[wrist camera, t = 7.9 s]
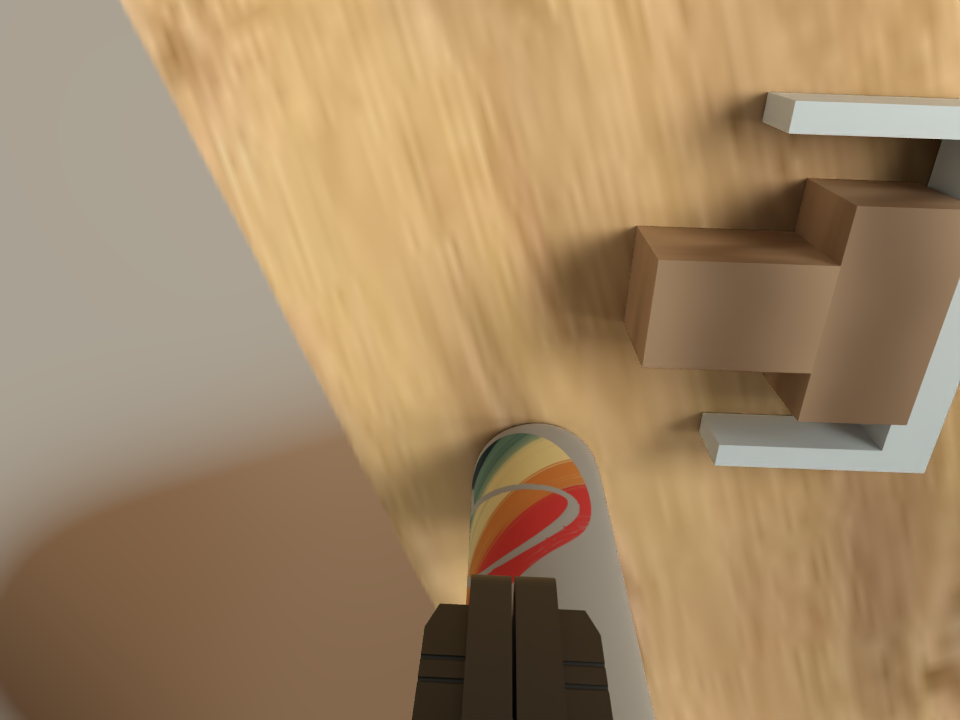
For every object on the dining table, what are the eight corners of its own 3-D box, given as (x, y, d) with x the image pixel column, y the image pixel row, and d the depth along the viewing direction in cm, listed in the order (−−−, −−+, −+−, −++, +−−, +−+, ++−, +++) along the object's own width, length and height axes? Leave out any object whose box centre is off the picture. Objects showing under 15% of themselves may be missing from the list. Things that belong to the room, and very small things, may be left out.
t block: (916, 182, 26) (984, 210, 22) (856, 374, 29) (906, 425, 26) (643, 172, 26) (667, 199, 22) (617, 365, 29) (634, 415, 26)
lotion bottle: (466, 424, 31) (426, 1003, 13) (596, 414, 30) (740, 994, 13) (479, 526, 33) (461, 1126, 16) (599, 517, 33) (722, 1122, 15)
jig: (1013, 100, 24) (1065, 110, 22) (892, 439, 31) (924, 473, 28) (768, 91, 24) (795, 100, 22) (698, 432, 31) (714, 465, 28)
